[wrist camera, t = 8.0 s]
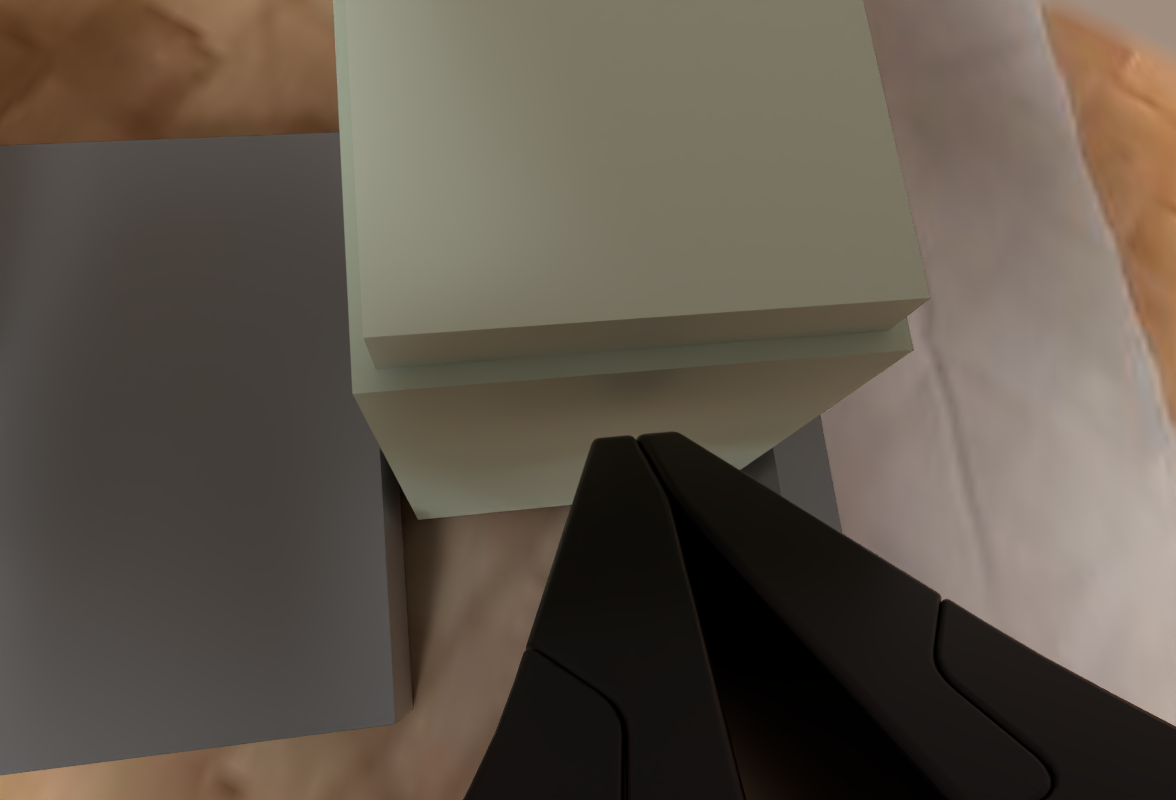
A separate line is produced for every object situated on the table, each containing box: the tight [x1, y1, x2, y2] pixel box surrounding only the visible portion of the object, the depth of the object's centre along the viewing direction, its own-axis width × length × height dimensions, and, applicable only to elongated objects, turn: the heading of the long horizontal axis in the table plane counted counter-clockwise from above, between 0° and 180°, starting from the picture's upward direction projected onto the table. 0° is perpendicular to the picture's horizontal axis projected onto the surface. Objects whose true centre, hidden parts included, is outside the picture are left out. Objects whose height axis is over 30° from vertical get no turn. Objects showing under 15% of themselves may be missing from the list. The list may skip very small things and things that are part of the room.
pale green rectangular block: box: [333, 0, 931, 520], centre depth 12 cm, size 4×5×8 cm
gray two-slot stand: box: [0, 132, 842, 775], centre depth 14 cm, size 9×18×3 cm, turn 97°
